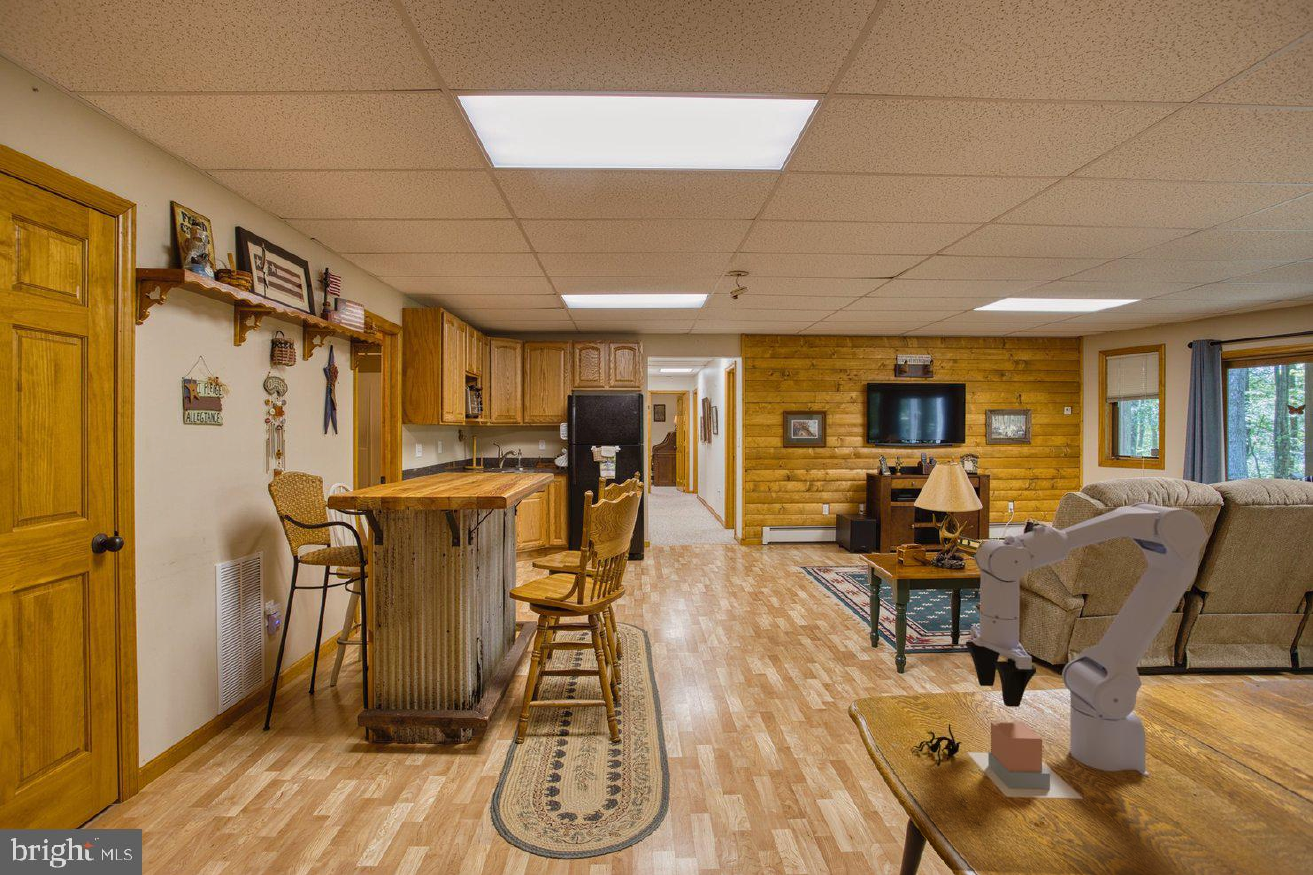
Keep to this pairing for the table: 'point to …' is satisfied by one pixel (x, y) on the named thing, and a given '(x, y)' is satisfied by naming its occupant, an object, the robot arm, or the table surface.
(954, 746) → the creature
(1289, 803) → the table surface
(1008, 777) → the base brick
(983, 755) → the board
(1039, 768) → the top brick
